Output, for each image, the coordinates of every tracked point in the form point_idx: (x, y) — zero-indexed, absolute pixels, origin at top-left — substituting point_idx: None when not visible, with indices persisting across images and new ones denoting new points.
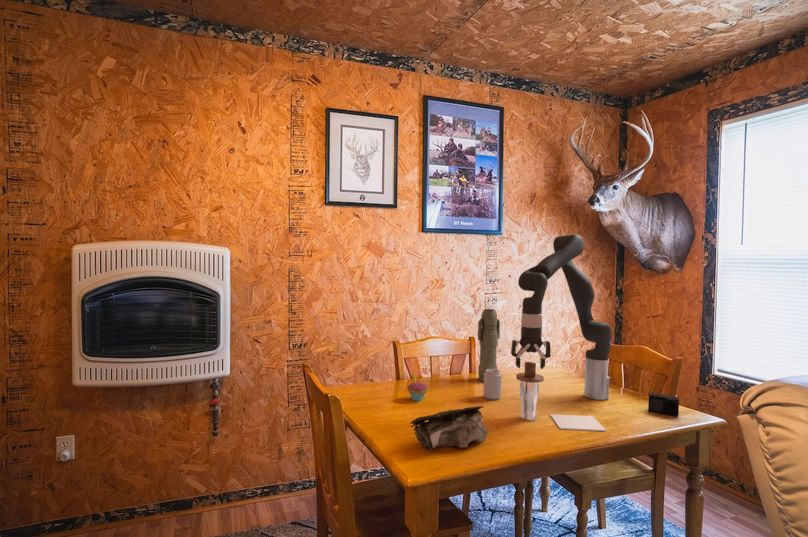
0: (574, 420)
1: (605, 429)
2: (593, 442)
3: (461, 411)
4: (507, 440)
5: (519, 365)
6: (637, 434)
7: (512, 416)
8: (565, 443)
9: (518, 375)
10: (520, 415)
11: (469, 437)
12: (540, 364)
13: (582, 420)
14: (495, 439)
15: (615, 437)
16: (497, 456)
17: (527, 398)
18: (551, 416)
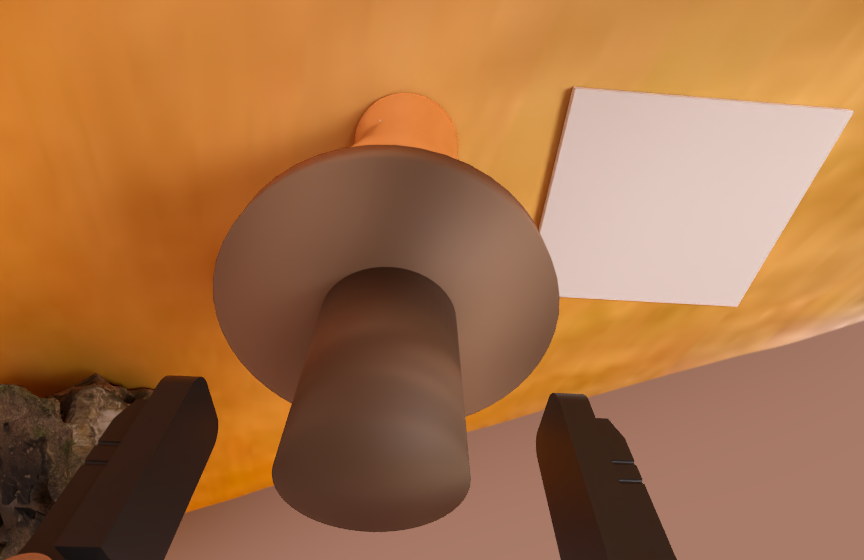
0: (668, 195)
1: (740, 300)
2: (593, 390)
3: (6, 546)
4: (265, 393)
5: (190, 469)
6: (852, 320)
7: (304, 123)
8: None
9: (242, 304)
10: (355, 135)
11: None
12: (564, 443)
13: (718, 192)
14: (218, 389)
15: (720, 350)
16: (233, 475)
17: None
18: (565, 124)
